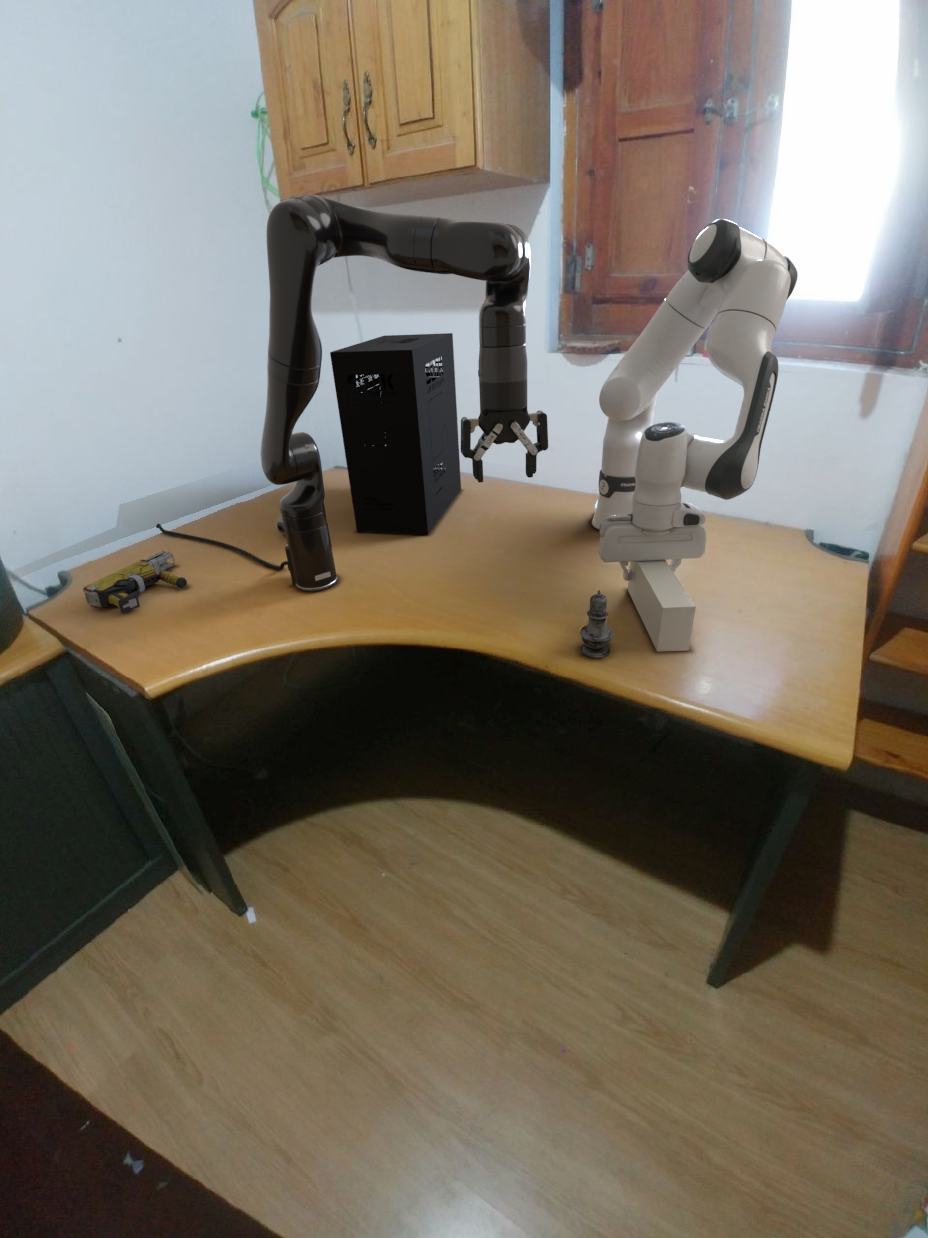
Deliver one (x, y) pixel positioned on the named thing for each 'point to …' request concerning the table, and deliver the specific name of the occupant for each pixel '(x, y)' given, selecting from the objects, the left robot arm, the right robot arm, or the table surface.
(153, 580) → the toy gun
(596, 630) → the dark grey chess piece
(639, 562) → the bar
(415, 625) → the table surface
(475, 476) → the left robot arm
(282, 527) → the eyeball
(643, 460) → the right robot arm
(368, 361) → the cardboard box
